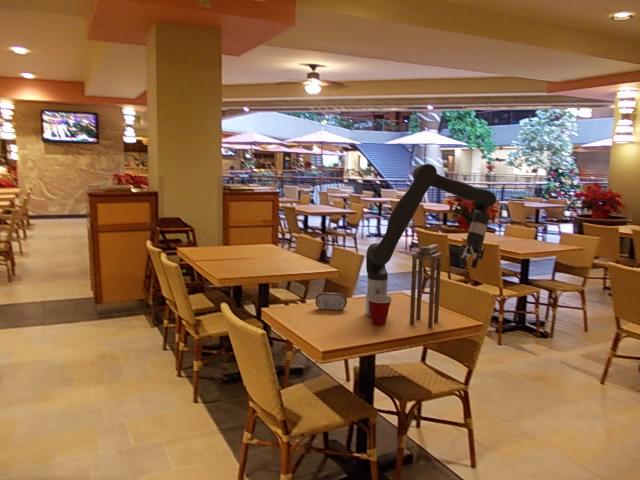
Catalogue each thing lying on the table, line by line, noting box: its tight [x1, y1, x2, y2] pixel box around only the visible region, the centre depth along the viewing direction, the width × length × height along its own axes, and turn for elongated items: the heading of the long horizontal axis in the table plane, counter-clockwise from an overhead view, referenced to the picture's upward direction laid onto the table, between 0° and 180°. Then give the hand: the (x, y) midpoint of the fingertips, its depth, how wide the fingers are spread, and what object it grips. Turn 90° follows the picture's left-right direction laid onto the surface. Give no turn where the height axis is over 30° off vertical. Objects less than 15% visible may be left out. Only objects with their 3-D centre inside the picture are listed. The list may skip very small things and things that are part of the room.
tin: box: [314, 291, 348, 312], centre depth 252 cm, size 15×3×8 cm, turn 84°
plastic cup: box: [367, 294, 393, 327], centre depth 230 cm, size 11×11×12 cm
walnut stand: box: [409, 250, 443, 328], centre depth 232 cm, size 10×10×32 cm
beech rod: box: [419, 243, 440, 255], centre depth 233 cm, size 3×18×3 cm, turn 151°
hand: (467, 267), depth 243 cm, fingers open, 8 cm apart
